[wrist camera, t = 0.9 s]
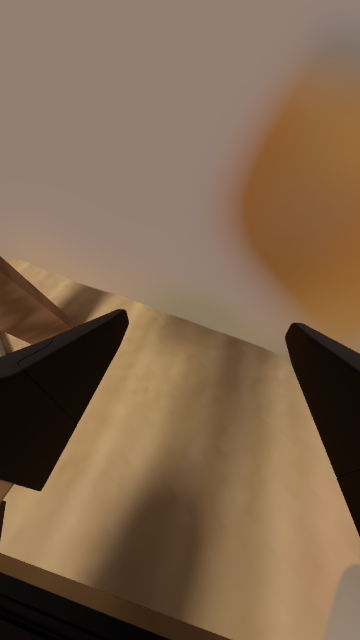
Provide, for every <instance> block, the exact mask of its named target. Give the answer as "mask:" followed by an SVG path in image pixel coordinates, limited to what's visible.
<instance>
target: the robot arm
mask: <svg viewBox="0 0 360 640" xmlns="http://www.w3.org/2000/svg"><path fill="white" fill-rule="evenodd" d="M128 325H129V320H128V316H127V312H126V310H124V309H117V310H115V311H112V312H110V313H108V314H105V315H103V316H100V317H98V318H96V319H93V320H91V321H89V322H86V323H84V324H81V325H79V326H77V327H74V328H72V329H69V330H67V331H65V332H62V333H60V334H57V335H56V336H53V337H50V338H48V339H45V340H43V341H40V342H38V343H35V344H33V345H30V346H28V347H25V348H22V349H20V350H17V351H15V352H12V353H9V354H6V355H4V356H1V357H0V539H1V532H2V525H3V518H4V511H5V504H6V501H3V499H4V498H5V496H6V495H7V493H8V492H9V491H10V489H11V488H12V486H13V485H14V484H16V485H19V486H23V487H26V488H30V489H33V490H37V491H41V490H42V488H43V487H44V485H45V483H46V482H47V480H48V478H49V476H50V474H51V472H52V471H53V469H54V467H55V465H56V463H57V461H58V459H59V458H60V456H61V454H62V452H63V450H64V448H65V447H66V445H67V443H68V441H69V439H70V437H71V436H72V434H73V432H74V430H75V428H76V426H77V424H78V422H79V421H80V419H81V417H82V415H83V413H84V411H85V409H86V408H87V406H88V404H89V402H90V400H91V398H92V397H93V395H94V393H95V391H96V389H97V387H98V385H99V384H100V382H101V380H102V378H103V376H104V374H105V373H106V371H107V369H108V367H109V365H110V363H111V361H112V360H113V358H114V356H115V354H116V352H117V350H118V349H119V347H120V344H121V342H122V340H123V337H124V335H125V332H126V330H127V327H128ZM285 340H286V344H287V348H288V352H289V356H290V359H291V363H292V366H293V369H294V372H295V374H296V377H297V379H298V382H299V384H300V387H301V389H302V392H303V394H304V397H305V399H306V402H307V404H308V407H309V409H310V412H311V415H312V417H313V420H314V422H315V425H316V427H317V430H318V432H319V435H320V437H321V440H322V442H323V445H324V447H325V450H326V452H327V455H328V457H329V460H330V463H331V465H332V468H333V470H334V473H335V475H336V477H337V481H338V483H339V486H340V488H341V491H342V493H343V496H344V498H345V501H346V503H347V506H348V508H349V511H350V513H351V516H352V518H353V521H354V524H355V526H356V529H357V531H358V534H359V536H360V354H359V353H357V352H355V351H354V350H351V349H350V348H348V347H346V346H344V345H342V344H340V343H338V342H337V341H335V340H333V339H331V338H329V337H327V336H325V335H323V334H322V333H320V332H318V331H316V330H314V329H312V328H310V327H308V326H306V325H305V324H302V323H292V324H291V326H290V328H289V329H288V331H287V333H286V336H285ZM0 640H231V639H228V638H226V637H223V636H220V635H218V634H215V633H212V632H210V631H207V630H204V629H202V628H199V627H196V626H194V625H191V624H188V623H186V622H183V621H180V620H178V619H175V618H172V617H170V616H167V615H164V614H162V613H159V612H156V611H154V610H151V609H148V608H146V607H143V606H140V605H138V604H135V603H132V602H130V601H127V600H124V599H122V598H119V597H116V596H114V595H111V594H108V593H106V592H103V591H100V590H98V589H95V588H92V587H90V586H87V585H84V584H82V583H79V582H76V581H74V580H71V579H68V578H66V577H63V576H60V575H58V574H55V573H52V572H50V571H47V570H44V569H42V568H39V567H36V566H34V565H31V564H28V563H26V562H23V561H20V560H18V559H15V558H12V557H10V556H7V555H4V554H2V553H0Z"/></svg>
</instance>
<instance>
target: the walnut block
mask: <svg viewBox="0 0 360 640" xmlns="http://www.w3.org/2000/svg"><path fill="white" fill-rule="evenodd" d="M72 328H74V327H73V326H72V324H71V322H70V321H69V319H68V318H67V316H66V314H65V313H64V312H63V311H61V310H60V309H59V308H58V307H57V306H56V305H55V304H54V303H52V302H51V301H50V300H49V299H48V298H47V297H46V296H44V295H43V294H42V293H41V292H40V291H39V290H38V289H37V288H35V287H34V286H33V285H32V284H31V283H30V282H29V281H28V280H26V279H25V278H24V277H23V276H22V275H21V274H20V273H19V272H17V271H16V270H15V269H14V268H13V267H12V266H11V265H10V264H8V263H7V262H6V261H5V260H4V259H3V258H1V257H0V330H1V331H3V332H6V333H8V334H10V335H12V336H15V337H17V338H19V339H21V340H23V341H26V342H28V343H30V344H32V345H33V344H35V343H38V342H40V341H43V340H45V339H48V338H50V337H53V336H56V335H57V334H60V333H62V332H65V331H67V330H69V329H72Z"/></svg>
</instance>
